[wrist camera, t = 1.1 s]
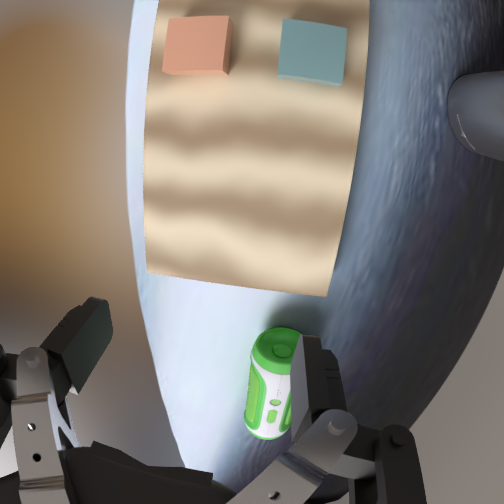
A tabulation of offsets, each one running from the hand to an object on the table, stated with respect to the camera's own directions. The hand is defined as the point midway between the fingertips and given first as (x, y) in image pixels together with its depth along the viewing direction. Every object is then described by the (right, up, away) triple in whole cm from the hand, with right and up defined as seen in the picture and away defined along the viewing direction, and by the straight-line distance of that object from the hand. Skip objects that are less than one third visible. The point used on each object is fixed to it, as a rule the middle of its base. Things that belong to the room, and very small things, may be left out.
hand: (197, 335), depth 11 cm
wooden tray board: (+2, +15, +16) cm, 22 cm away
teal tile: (+7, +20, +9) cm, 23 cm away
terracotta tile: (-2, +21, +9) cm, 23 cm away
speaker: (+5, -13, +29) cm, 32 cm away
